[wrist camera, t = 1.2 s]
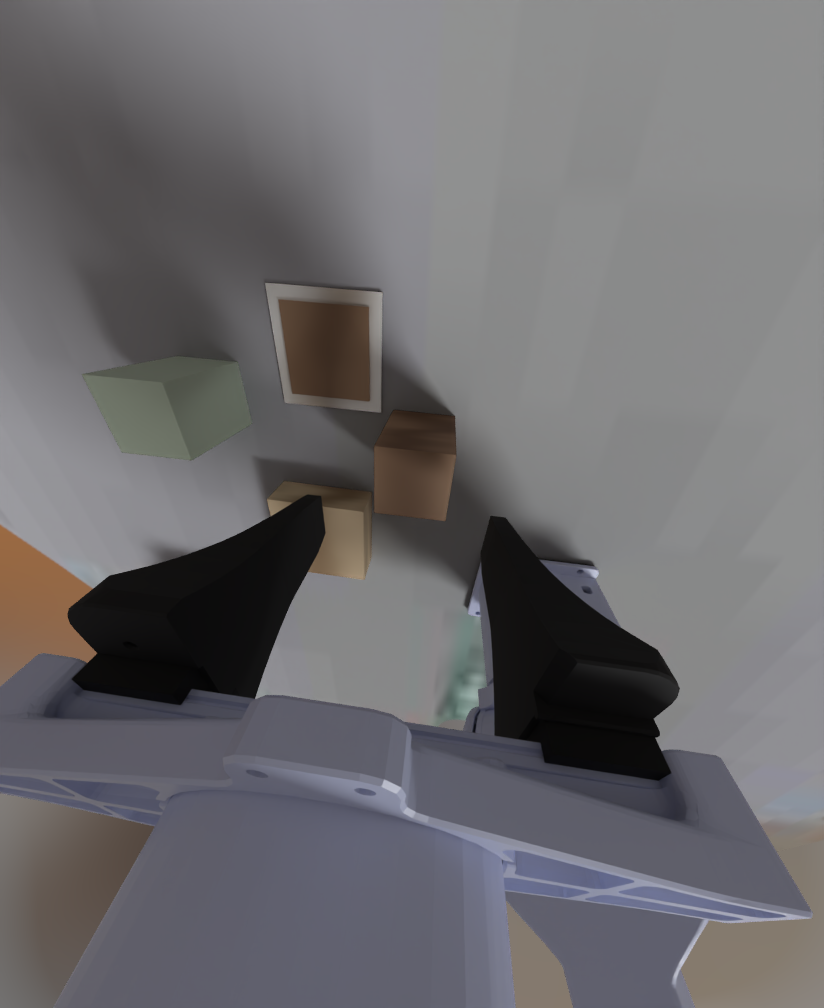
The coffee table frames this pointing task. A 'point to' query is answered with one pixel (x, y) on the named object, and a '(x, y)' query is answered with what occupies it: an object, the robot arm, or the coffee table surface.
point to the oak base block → (335, 526)
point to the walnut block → (415, 465)
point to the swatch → (328, 345)
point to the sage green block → (171, 405)
